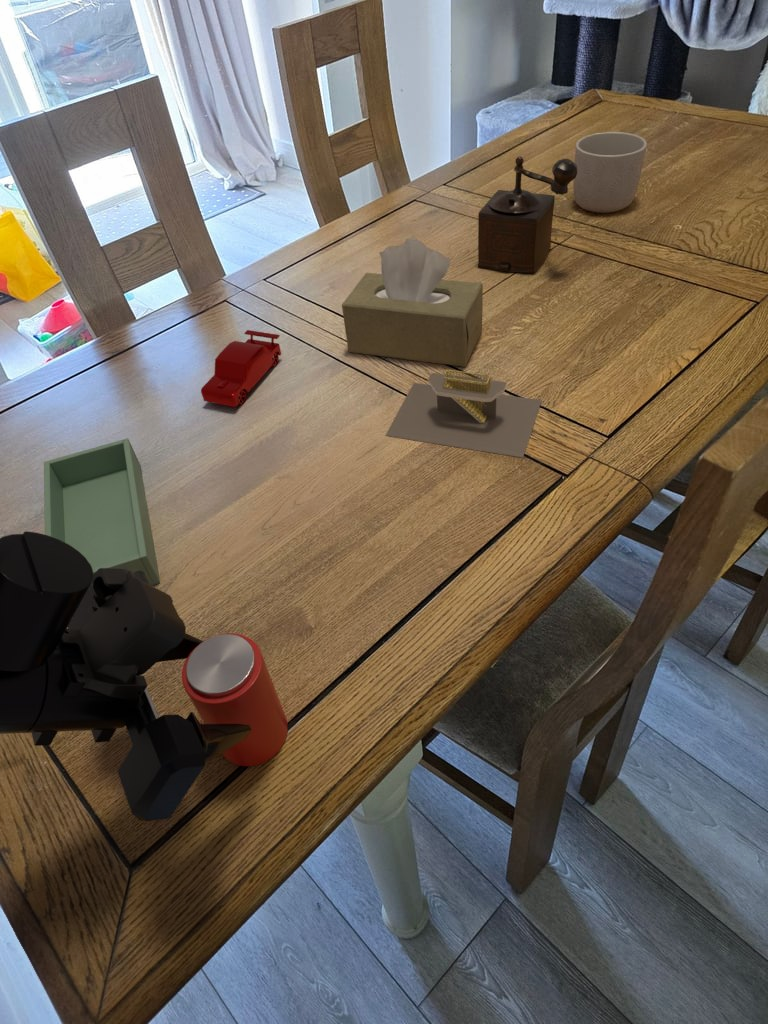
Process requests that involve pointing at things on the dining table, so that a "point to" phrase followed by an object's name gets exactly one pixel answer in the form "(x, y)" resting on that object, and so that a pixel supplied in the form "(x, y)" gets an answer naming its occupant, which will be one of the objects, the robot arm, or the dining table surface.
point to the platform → (466, 414)
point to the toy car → (240, 369)
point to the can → (236, 695)
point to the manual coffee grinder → (521, 222)
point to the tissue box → (414, 309)
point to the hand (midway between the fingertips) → (226, 688)
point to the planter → (608, 170)
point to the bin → (101, 508)
